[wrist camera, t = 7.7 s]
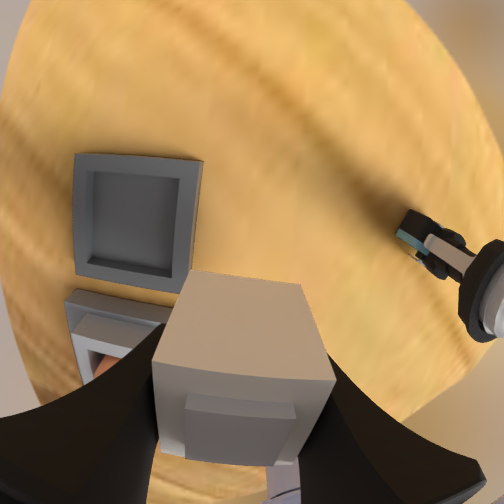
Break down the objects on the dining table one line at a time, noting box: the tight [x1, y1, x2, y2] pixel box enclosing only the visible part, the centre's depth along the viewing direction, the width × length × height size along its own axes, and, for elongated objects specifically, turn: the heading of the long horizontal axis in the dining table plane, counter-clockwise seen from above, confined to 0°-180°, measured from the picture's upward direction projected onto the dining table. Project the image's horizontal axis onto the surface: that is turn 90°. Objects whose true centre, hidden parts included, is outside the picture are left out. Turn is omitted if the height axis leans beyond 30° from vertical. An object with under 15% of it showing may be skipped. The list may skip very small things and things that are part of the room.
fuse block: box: [152, 269, 336, 467], centre depth 8 cm, size 4×4×6 cm
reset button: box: [94, 354, 122, 379], centre depth 17 cm, size 3×3×3 cm
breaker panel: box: [64, 289, 173, 385], centre depth 19 cm, size 10×12×4 cm
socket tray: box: [73, 153, 204, 294], centre depth 17 cm, size 8×8×1 cm
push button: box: [395, 209, 504, 343], centre depth 13 cm, size 7×5×10 cm
